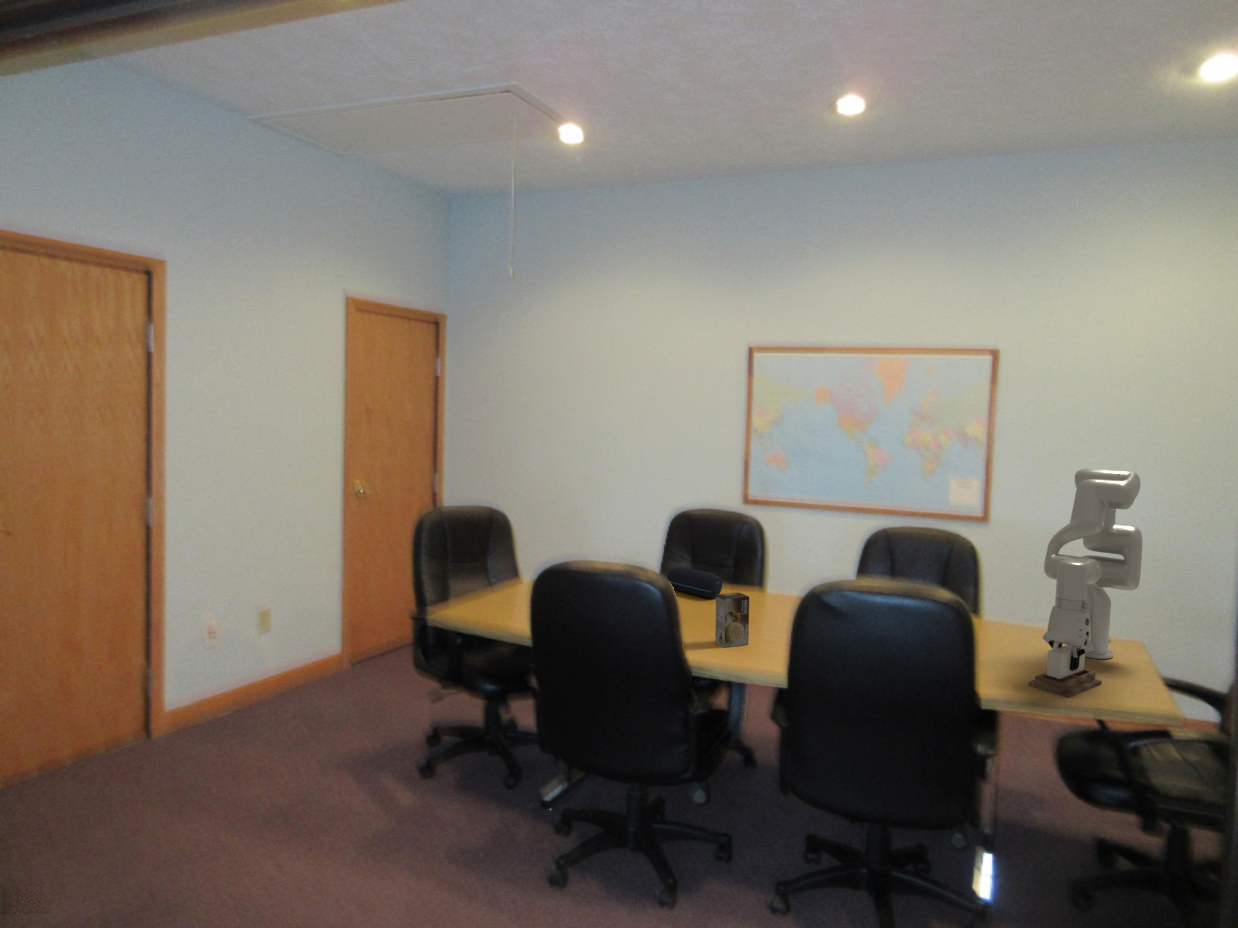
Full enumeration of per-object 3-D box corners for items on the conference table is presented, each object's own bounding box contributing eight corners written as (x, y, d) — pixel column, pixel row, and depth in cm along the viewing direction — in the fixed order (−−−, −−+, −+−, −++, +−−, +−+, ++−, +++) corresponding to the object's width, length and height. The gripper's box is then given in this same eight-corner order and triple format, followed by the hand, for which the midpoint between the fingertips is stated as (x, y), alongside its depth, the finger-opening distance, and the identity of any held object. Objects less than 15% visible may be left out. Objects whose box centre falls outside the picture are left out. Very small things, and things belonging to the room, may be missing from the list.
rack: (1061, 672, 232) (1062, 662, 232) (1101, 684, 223) (1102, 673, 223) (1028, 684, 221) (1028, 674, 221) (1068, 697, 212) (1069, 686, 212)
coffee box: (738, 639, 259) (740, 591, 257) (748, 645, 253) (750, 596, 252) (714, 642, 255) (715, 593, 254) (724, 647, 249) (725, 598, 248)
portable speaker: (726, 598, 313) (727, 573, 313) (710, 602, 307) (710, 577, 306) (680, 586, 332) (680, 563, 331) (664, 590, 325) (664, 566, 324)
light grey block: (1071, 666, 227) (1072, 643, 226) (1084, 670, 224) (1085, 646, 223) (1046, 674, 219) (1048, 650, 218) (1059, 678, 216) (1061, 654, 215)
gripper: (1108, 609, 215) (1103, 674, 217) (1047, 596, 229) (1043, 657, 230) (1095, 612, 211) (1090, 678, 212) (1034, 599, 225) (1029, 661, 226)
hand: (1066, 667), depth 221 cm, fingers closed on light grey block, 3 cm apart
